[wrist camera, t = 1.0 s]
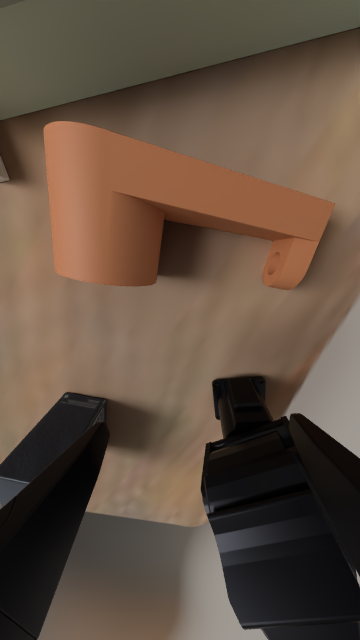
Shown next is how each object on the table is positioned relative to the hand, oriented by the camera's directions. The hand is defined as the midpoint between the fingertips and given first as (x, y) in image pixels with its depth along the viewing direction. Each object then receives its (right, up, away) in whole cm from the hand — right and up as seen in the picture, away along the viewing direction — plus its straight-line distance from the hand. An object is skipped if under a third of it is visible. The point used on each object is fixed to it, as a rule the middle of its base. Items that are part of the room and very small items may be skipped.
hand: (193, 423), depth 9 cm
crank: (0, +13, +9) cm, 16 cm away
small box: (-15, -10, +19) cm, 27 cm away
